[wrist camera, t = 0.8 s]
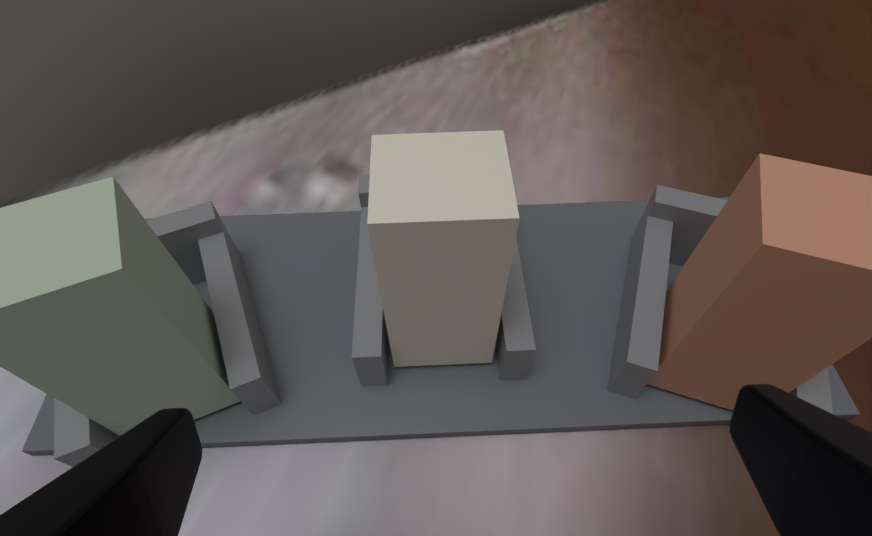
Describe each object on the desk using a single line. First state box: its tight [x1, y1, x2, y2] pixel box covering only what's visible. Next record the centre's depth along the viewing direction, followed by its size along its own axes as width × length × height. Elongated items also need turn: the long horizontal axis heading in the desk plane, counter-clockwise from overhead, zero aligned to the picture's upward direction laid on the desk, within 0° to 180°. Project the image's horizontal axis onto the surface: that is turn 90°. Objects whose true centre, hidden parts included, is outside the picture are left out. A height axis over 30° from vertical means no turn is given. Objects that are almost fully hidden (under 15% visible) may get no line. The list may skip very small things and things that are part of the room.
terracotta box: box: [647, 154, 872, 410], centre depth 19 cm, size 4×4×10 cm
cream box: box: [367, 130, 519, 367], centre depth 20 cm, size 4×4×10 cm
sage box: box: [0, 177, 240, 436], centre depth 18 cm, size 4×4×10 cm
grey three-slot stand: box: [22, 175, 860, 467], centre depth 23 cm, size 14×36×5 cm, turn 93°
